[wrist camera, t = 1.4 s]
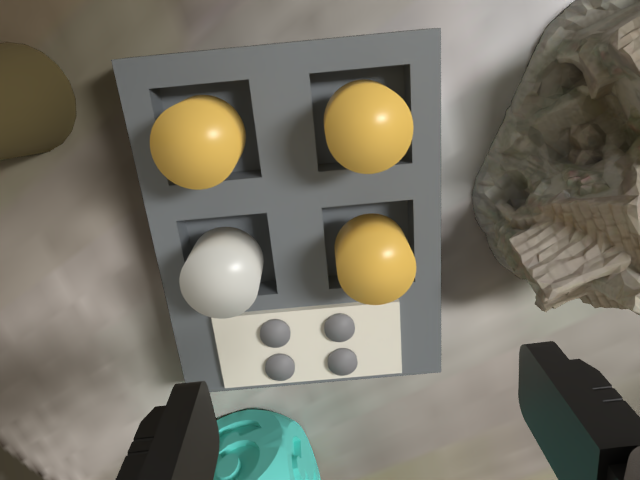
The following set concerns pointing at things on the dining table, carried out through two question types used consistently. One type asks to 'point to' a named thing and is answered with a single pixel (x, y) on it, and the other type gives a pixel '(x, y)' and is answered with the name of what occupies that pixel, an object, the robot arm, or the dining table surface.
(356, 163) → the amber button
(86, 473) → the dining table surface
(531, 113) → the ceramic cottage
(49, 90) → the olive rounded cylinder
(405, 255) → the amber button
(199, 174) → the amber button
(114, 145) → the dining table surface
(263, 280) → the button board
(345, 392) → the dining table surface
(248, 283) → the white button
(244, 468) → the decorative dice
